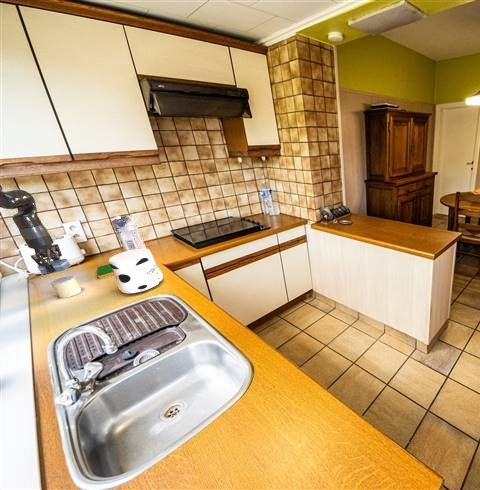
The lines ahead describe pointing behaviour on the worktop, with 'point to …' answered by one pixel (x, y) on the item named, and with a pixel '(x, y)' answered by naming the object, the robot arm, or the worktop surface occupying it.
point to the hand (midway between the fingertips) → (56, 269)
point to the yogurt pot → (66, 286)
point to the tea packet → (56, 266)
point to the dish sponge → (104, 271)
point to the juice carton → (128, 232)
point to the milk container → (135, 271)
